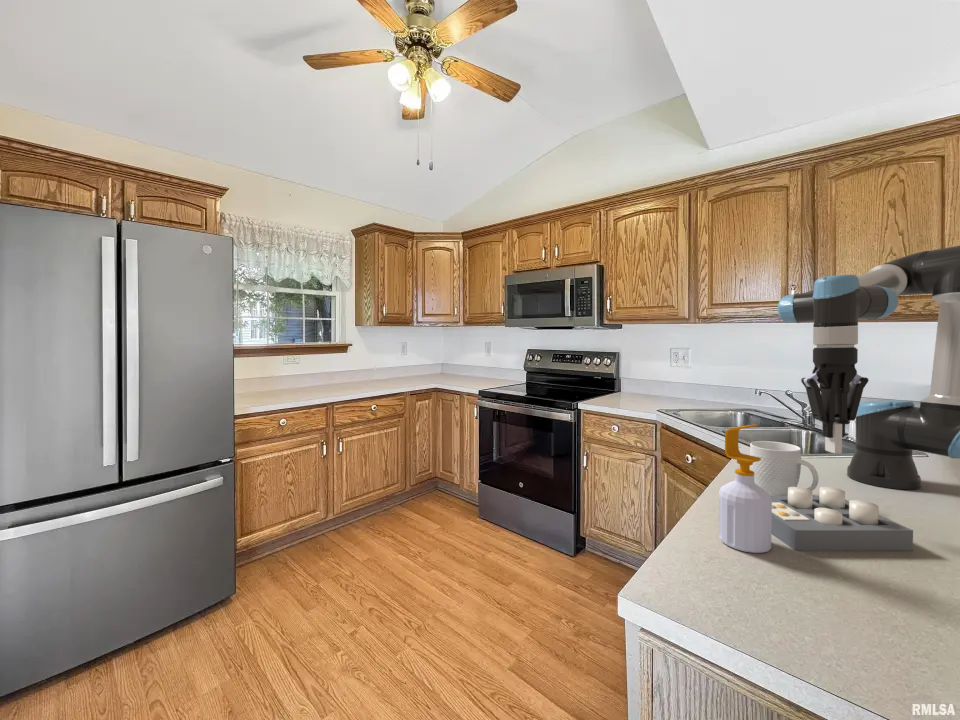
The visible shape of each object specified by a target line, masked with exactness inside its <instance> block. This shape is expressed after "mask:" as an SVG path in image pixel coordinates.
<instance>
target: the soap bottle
mask: <svg viewBox="0 0 960 720" xmlns="http://www.w3.org/2000/svg"><path fill="white" fill-rule="evenodd" d="M755 427H758V423H757V424H749V425H741V426H737V427H730V428H728V429H727V430H725V433H724V453H725V454H724V455H725V456H726V457H727V458H729V459H731V460H736V464H739V468H736V469H734V471H735V472H734V480H733V481H730V482H727V483H726V484H724V485H722V486H720V489H719V490H718V491H719V492H718V539H719V540H720V541H721V542H722V543H723V544H725V545H726V546H728V547H730V548H732V549H735V550H738V551H740V552H744V553H750V554H761V553H767V552H769V551H770V550H771V549H772V534H771V529H772V500H771V497H770V495H769V494H768V493H767V492H766V491H765V490H764V489H763V488H761V487H760V486H758V485H756V484H755V482H754V471H751V467H750V466H751V465H753V462H757V461H761V458H759V457H755V456H750V454H746V453H742V452H741V451H740V450H739V434H740V430H743V429H751V428H755Z"/></svg>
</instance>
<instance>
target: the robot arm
mask: <svg viewBox="0 0 960 720" xmlns="http://www.w3.org/2000/svg"><path fill="white" fill-rule="evenodd" d="M929 294H930V295H931V299H932V300H933V301H935V302H936V303H938V305H939V307H938V317H937V326H936V335H935V344H934V354H933V363H932V370H931V371H932V372H931V380H930V381H931V383H930V390H929V395H928V396H926V397H924V398H922V399H921V400H920V404H919V407H917V406H916V405H915V403H914V401H912V400H901V399H899V400H898V399H897V400H896V399H895V400H891V399H890V400H889V399H888V400H887V399H885V400H866V401H862V402H861V399H862V396H863V392H864V388H865V387H866V386H867V384H868V383H869V381H870V380H869V378H868V377H864V376H861V375H859V374H858V371H857V368H856V364H857V363H858V362H859V361H858V358H859V357H858V351H859V350H858V348H857V347H855V345H858V344H859V320H868V321H869V320H871V321H872V320H873V321H874V320H879V319H885V318H886V317H889V316H890V315H892V314H893V313H894V312H895V311H896V310H897V308H898V306H899V297H900V296H912V295H929ZM777 314H778V317H779V318H780V320H782V322H783V323H784V322H785V323H787V324H791V323H792V324H793V323H794V324H800V323H813V325H812V326H813V331H812V332H813V333H812V335H813V336H812V344H813V346H816V347H814V348H813V349H812V363H813V365H814V368H813V369H812V371H811V372H812V374H810V375H809V376H808V377H802V378H801V379H800V381H801V383H802V385H803V386H804V387H805V391H806V395H807V399H808V404H809V407H810V411H811V416H812V418H813V419H814V420H817V421H819V422H821V423H822V427H821V428H822V436H823V437H825V439H824V441H825V442H824V450H825V451H826V452H829V453H831V454H843V453H842V452H843V438H845V436H846V425H850V423H851V421H855V450H854V453H853V456H852V458H851V460H850V463H849V465H848V466H847V469H846V472H847V473H846V475H847V477H849V478H850V479H852V480H854V481H856V482H860V483H863V484H867V485H870V486H871V485H872V486H875V487H882V488H888V489H897V490H916V489H920V488H921V487H922V478H921V475H919V472H918V469H917V466H916V463H915V461H914V458H913V451H916V452H921V453H926V454H933V455H937V456H942V457H949V458H951V459H956V460H957V459H960V245H955V246H950V247H944V248H938V249H932V250H925V251H924V250H923V251H918V252H915V253H911V254H908V255H905V256H902V257H899V258H897V259H892V260H891V261H888V262H885V263H882V264H879V265H876V266H873V267H872V268H871V269H870V270H869V271H867V272H866V273H862V274H859V275H857V274H838V275H829V276H823V277H819V278H817V279H816V280H815V281H814V283H813V290H810V291H809V290H808V291H806V292H801V293H793V294H787V295H784V296H783V297H782V298H781V299H780V300H779V301H778V304H777Z"/></svg>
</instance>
